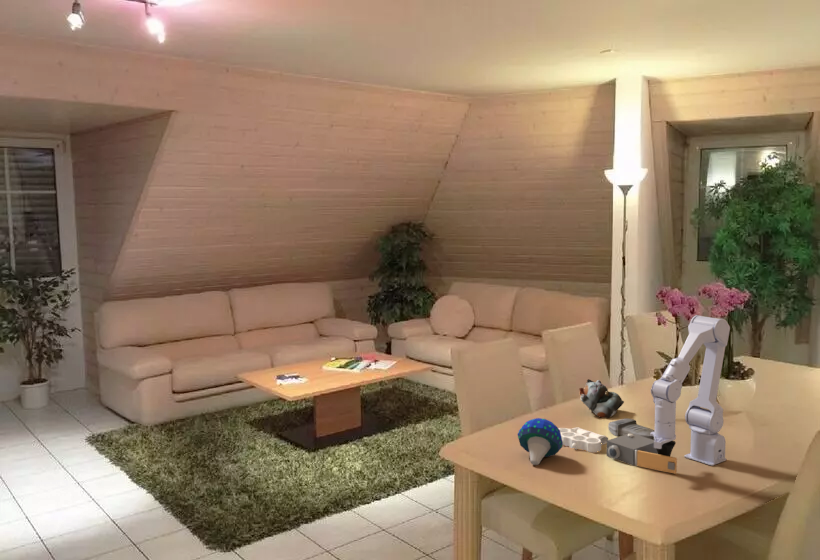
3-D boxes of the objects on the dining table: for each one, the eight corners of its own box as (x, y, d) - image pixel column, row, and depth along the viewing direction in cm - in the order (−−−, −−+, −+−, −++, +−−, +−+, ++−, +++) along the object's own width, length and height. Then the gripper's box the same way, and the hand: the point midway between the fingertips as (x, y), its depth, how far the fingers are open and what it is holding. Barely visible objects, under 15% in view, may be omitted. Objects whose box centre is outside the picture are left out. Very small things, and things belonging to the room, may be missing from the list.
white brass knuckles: (616, 446, 226) (587, 456, 217) (572, 432, 240) (544, 441, 231) (616, 436, 225) (587, 446, 217) (572, 423, 240) (544, 432, 231)
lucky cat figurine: (608, 420, 251) (589, 387, 251) (585, 425, 261) (567, 393, 261) (630, 401, 260) (612, 368, 260) (607, 406, 269) (589, 375, 270)
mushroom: (514, 444, 206) (524, 404, 215) (509, 468, 216) (519, 429, 226) (561, 457, 202) (569, 416, 212) (554, 481, 212) (562, 440, 222)
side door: (675, 474, 200) (675, 459, 199) (633, 465, 207) (633, 451, 206) (676, 472, 201) (677, 457, 201) (635, 464, 208) (635, 449, 208)
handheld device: (653, 450, 221) (653, 436, 221) (605, 433, 238) (605, 420, 238) (672, 444, 227) (672, 430, 226) (623, 428, 243) (623, 415, 243)
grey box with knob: (657, 456, 215) (658, 439, 214) (630, 466, 207) (630, 448, 207) (630, 447, 223) (631, 431, 222) (603, 457, 215) (603, 439, 215)
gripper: (658, 411, 211) (657, 454, 212) (643, 424, 199) (642, 470, 201) (682, 415, 207) (681, 459, 208) (668, 429, 195) (667, 475, 196)
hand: (664, 465), depth 204 cm, fingers closed
